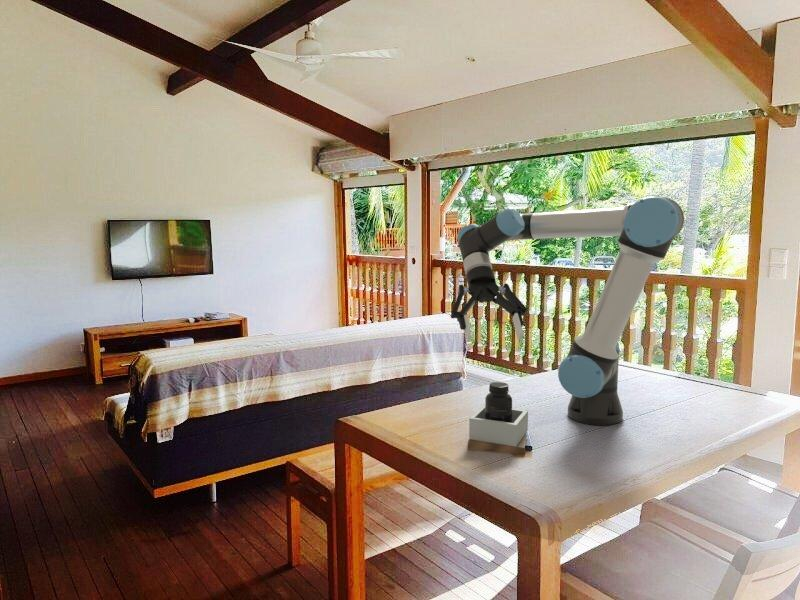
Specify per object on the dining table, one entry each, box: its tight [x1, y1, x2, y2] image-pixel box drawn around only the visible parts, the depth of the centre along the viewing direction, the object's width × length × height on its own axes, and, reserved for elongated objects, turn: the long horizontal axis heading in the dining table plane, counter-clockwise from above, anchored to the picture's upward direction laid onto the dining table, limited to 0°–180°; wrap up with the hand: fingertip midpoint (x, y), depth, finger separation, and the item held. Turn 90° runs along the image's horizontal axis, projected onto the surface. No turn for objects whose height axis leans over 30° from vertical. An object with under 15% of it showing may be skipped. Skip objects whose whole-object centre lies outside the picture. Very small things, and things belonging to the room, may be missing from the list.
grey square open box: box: [468, 404, 529, 447], centre depth 153 cm, size 12×12×6 cm
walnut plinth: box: [467, 431, 528, 455], centre depth 154 cm, size 14×14×2 cm
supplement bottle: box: [484, 381, 513, 423], centre depth 153 cm, size 7×7×12 cm
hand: (495, 338), depth 152 cm, fingers open, 13 cm apart
